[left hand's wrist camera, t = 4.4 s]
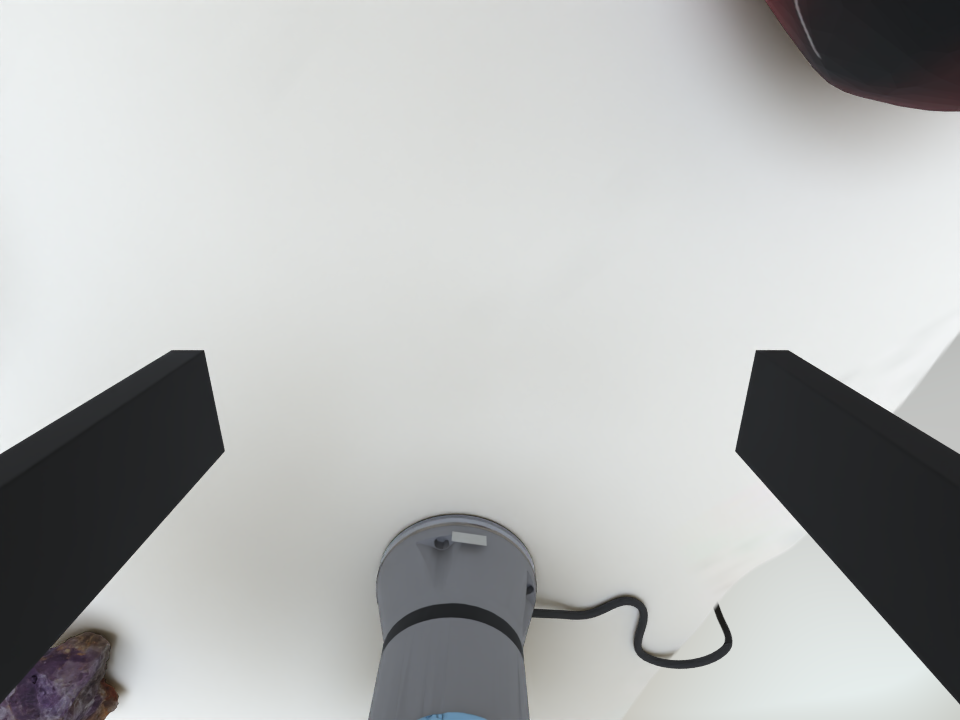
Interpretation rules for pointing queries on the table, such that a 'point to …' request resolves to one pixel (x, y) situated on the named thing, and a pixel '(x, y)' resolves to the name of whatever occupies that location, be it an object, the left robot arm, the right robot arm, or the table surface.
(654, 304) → the table surface
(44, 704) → the rock
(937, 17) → the dark red rounded piece
